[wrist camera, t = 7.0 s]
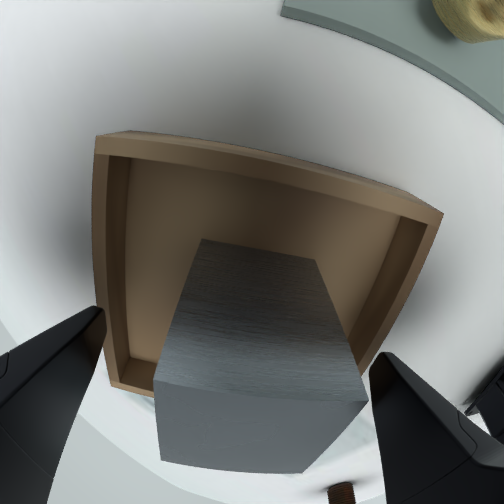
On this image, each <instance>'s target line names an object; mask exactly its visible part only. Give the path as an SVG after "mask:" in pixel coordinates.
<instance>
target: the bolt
mask: <svg viewBox="0 0 504 504" xmlns="http://www.w3.org/2000/svg"><path fill="white" fill-rule="evenodd" d="M352 485H353V484H350V483H342V484H338V485H335V486H333V487H331V488H329V490H328V491H327V493H328V494H327V495H328V497H329V498H328V499H329V500H328V501H329V504H355V503H356V502H355V497H354V496H355V495H354V493H353V492H354V491H353V489H354V488H353V486H352Z"/></svg>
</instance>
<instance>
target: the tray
mask: <svg viewBox="0 0 504 504" xmlns="http://www.w3.org/2000/svg"><path fill="white" fill-rule="evenodd" d="M443 215H444V213H442V212H441V211H439V210H437V209H436V208H434V207H432V206H431V205H429V204H427V203H426V202H424V201H422V200H420V199H419V198H417V197H415V196H413V195H412V194H410V193H408V192H405V191H402V190H400V189H397V188H394V187H391V186H388V185H385V184H382V183H379V182H376V181H373V180H370V179H367V178H364V177H361V176H357V175H354V174H351V173H347V172H344V171H341V170H337V169H334V168H330V167H326V166H323V165H319V164H315V163H312V162H308V161H304V160H300V159H296V158H292V157H288V156H283V155H279V154H275V153H270V152H266V151H261V150H256V149H251V148H247V147H241V146H236V145H231V144H226V143H220V142H214V141H208V140H202V139H195V138H189V137H182V136H174V135H167V134H158V133H149V132H140V131H124V132H117V133H110V134H104V135H99V136H96V141H95V151H94V163H93V179H92V255H93V271H94V284H95V294H96V303H97V307H101V308H103V309H104V310H105V314H106V323H107V334H106V337H105V340H104V343H103V350H104V355H105V360H106V365H107V370H108V375H109V379H110V384H111V386H112V387H115V388H119V389H122V390H126V391H129V392H133V393H137V394H140V395H144V396H148V397H152V398H154V388H153V378H154V374H155V371H156V368H157V365H158V362H159V358H160V355H161V352H162V349H163V346H164V343H165V340H166V337H167V334H168V331H169V328H170V325H171V322H172V319H173V316H174V313H175V310H176V307H177V304H178V301H179V298H180V296H181V293H182V290H183V287H184V284H185V282H186V279H187V276H188V273H189V271H190V268H191V265H192V262H193V260H194V257H195V254H196V252H197V249H198V246H199V244H200V241H201V239H207V240H213V241H218V242H223V243H229V244H234V245H240V246H245V247H250V248H256V249H261V250H267V251H272V252H277V253H283V254H288V255H293V256H299V257H304V258H309V259H315V261H316V264H317V266H318V268H319V271H320V273H321V275H322V278H323V280H324V283H325V285H326V287H327V290H328V292H329V295H330V297H331V300H332V302H333V305H334V307H335V310H336V312H337V315H338V317H339V320H340V322H341V325H342V327H343V330H344V333H345V335H346V338H347V340H348V343H349V346H350V348H351V351H352V354H353V356H354V359H355V362H356V365H357V367H358V370H359V373H360V376H362V375H363V373H364V372H365V370H366V369H367V367H368V365H369V364H370V362H371V361H372V359H373V358H374V356H375V354H376V353H377V351H378V350H379V348H380V346H381V345H382V343H383V341H384V340H385V338H386V336H387V335H388V333H389V331H390V329H391V328H392V326H393V324H394V322H395V320H396V319H397V317H398V315H399V313H400V311H401V309H402V308H403V306H404V304H405V302H406V300H407V298H408V296H409V294H410V292H411V290H412V288H413V286H414V284H415V282H416V280H417V278H418V275H419V273H420V271H421V269H422V267H423V264H424V262H425V260H426V258H427V255H428V253H429V251H430V248H431V246H432V244H433V241H434V239H435V236H436V234H437V231H438V228H439V226H440V223H441V221H442V218H443Z"/></svg>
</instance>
